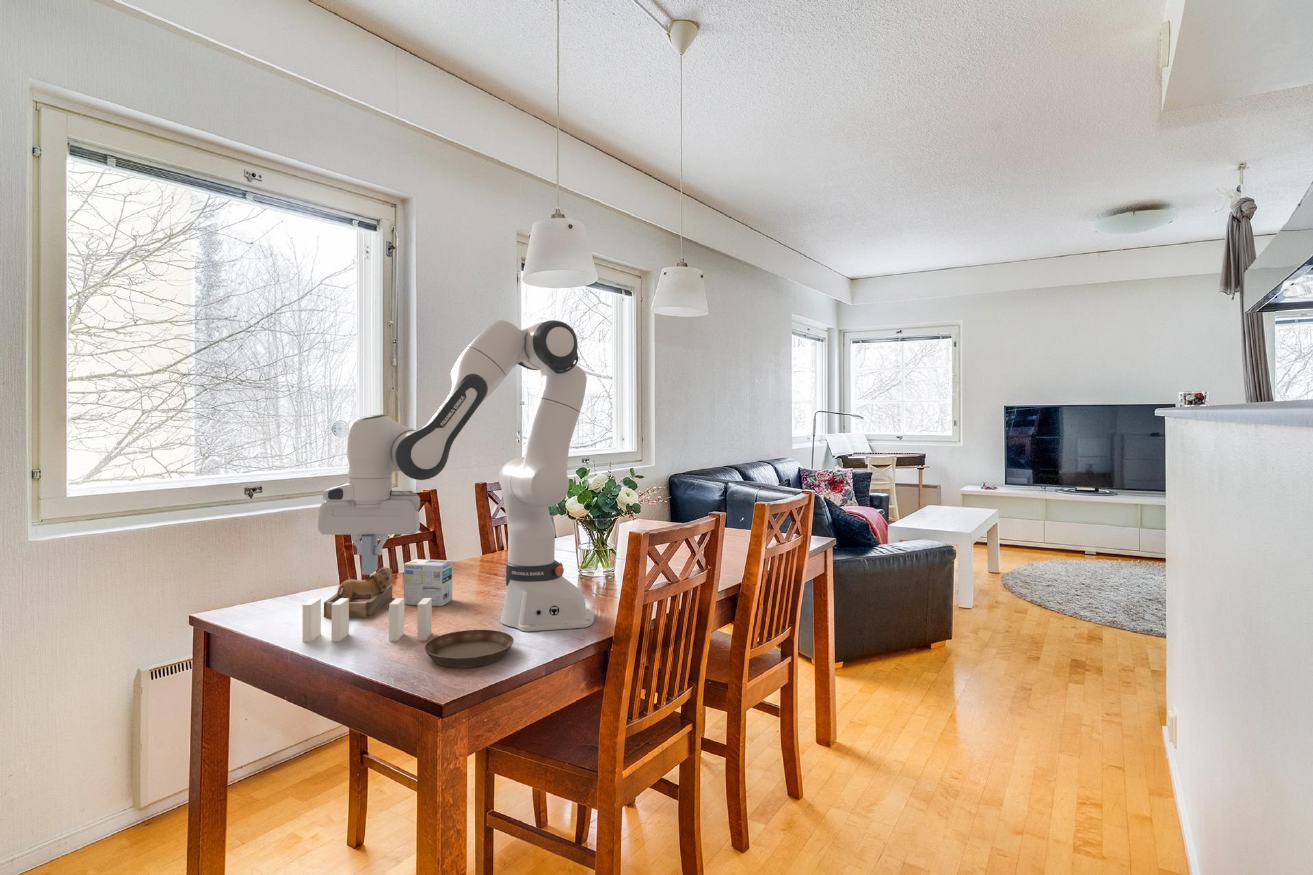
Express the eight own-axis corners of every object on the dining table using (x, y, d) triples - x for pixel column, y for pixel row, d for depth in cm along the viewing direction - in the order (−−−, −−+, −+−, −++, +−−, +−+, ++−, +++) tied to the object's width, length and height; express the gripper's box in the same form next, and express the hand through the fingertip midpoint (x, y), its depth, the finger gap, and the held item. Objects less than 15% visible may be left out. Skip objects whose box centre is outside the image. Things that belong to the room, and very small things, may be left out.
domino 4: (404, 633, 152) (404, 598, 152) (397, 640, 147) (397, 604, 147) (395, 633, 152) (396, 598, 152) (388, 640, 147) (389, 604, 147)
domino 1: (320, 634, 151) (320, 598, 150) (311, 641, 146) (311, 604, 145) (312, 634, 150) (312, 598, 150) (302, 641, 145) (302, 604, 145)
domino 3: (377, 569, 148) (377, 532, 147) (370, 574, 143) (370, 536, 142) (369, 569, 148) (369, 532, 147) (361, 574, 143) (361, 536, 142)
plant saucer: (405, 659, 137) (405, 644, 137) (473, 636, 151) (473, 623, 151) (464, 679, 127) (464, 663, 127) (531, 653, 142) (531, 639, 142)
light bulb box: (453, 599, 180) (453, 559, 180) (442, 606, 174) (443, 565, 173) (414, 598, 181) (414, 557, 181) (402, 604, 175) (403, 563, 174)
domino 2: (348, 633, 151) (348, 598, 151) (340, 641, 146) (340, 604, 146) (340, 633, 151) (340, 598, 151) (331, 641, 146) (331, 604, 146)
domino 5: (431, 633, 153) (431, 597, 152) (425, 640, 148) (426, 604, 147) (423, 633, 152) (423, 597, 152) (417, 640, 147) (417, 604, 147)
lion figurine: (390, 598, 178) (390, 564, 178) (395, 603, 174) (395, 568, 174) (328, 606, 170) (328, 570, 170) (332, 611, 165) (332, 574, 165)
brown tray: (393, 596, 182) (393, 583, 182) (369, 617, 163) (369, 603, 163) (350, 596, 181) (351, 583, 181) (322, 617, 162) (322, 603, 162)
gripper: (423, 489, 149) (423, 551, 149) (326, 488, 147) (326, 552, 147) (416, 492, 143) (416, 557, 143) (314, 492, 140) (314, 558, 141)
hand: (369, 554), depth 145 cm, fingers closed on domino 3, 2 cm apart
